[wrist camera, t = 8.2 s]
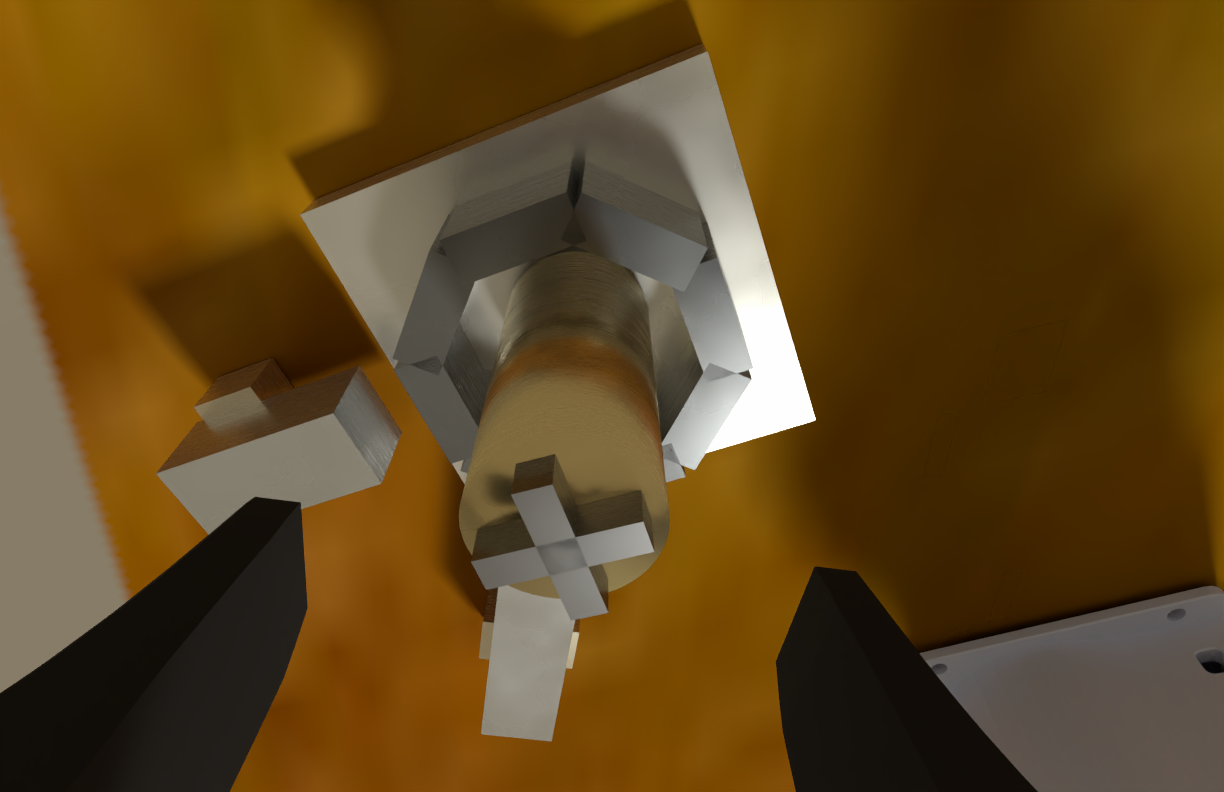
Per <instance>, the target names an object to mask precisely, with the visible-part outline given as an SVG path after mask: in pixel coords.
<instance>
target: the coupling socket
mask: <svg viewBox="0 0 1224 792" xmlns="http://www.w3.org/2000/svg"><path fill="white" fill-rule="evenodd" d="M300 215H301V217H302V219H303V220H304V222H305V223H306V225H307V227H308V228H309V230H310V232H311V233H312V235H313V237H314V238H315V240H316V242H317V243H318V245H319V246H320V248H321V250H322V251H323V253H324V255H325V256H326V258H327V260H328V261H329V263H330V264H331V266H332V268H333V269H334V271H335V273H336V274H337V276H338V278H339V279H340V281H341V283H342V284H343V286H344V287H345V289H346V291H347V292H348V294H349V296H350V297H351V299H352V301H353V302H354V304H355V305H356V307H357V309H358V310H359V312H360V314H361V315H362V317H363V319H364V320H365V322H366V323H367V325H368V327H369V328H370V330H371V332H372V333H373V335H374V337H375V338H376V340H377V342H378V343H379V345H380V346H381V348H382V350H383V351H384V353H385V355H386V356H387V358H388V360H389V361H390V363H391V364H392V366H393V368H394V371H395V373H396V374H397V376H398V378H399V379H400V381H401V383H402V384H403V386H404V388H405V389H406V391H407V392H408V394H409V396H410V397H411V399H412V401H413V402H414V404H415V406H416V407H417V409H418V410H419V412H420V414H421V415H422V417H423V419H424V420H425V422H426V424H427V425H428V427H429V428H430V430H431V432H432V433H433V435H434V437H435V438H436V440H437V442H438V443H439V445H440V447H441V448H442V450H443V451H444V453H445V455H446V456H447V458H448V460H449V461H450V463H451V464H453V466H454V468H455V469H456V471H457V473H458V474H459V476H460V478H461V479H462V481H463V483H464V484H465V482H466V477H467V473H468V469H469V465H470V461H471V457H472V453H473V448H474V444H475V440H476V436H477V432H478V428H479V424H480V419H481V415H482V411H483V407H484V403H485V399H486V395H487V390H488V386H489V382H490V378H491V374H492V370H493V366H494V361H495V357H496V353H497V349H498V345H499V341H500V337H501V332H502V328H503V324H504V320H505V316H506V312H507V308H508V303H509V300H510V296H511V293H512V291H513V288H514V287H515V285H516V283H517V282H518V280H519V279H520V278H521V276H522V275H523V274H524V273H525V272H526V271H527V270H528V269H529V268H530V267H532V266H533V265H534V264H536V263H537V262H539V261H541V260H543V259H545V258H547V257H550V256H553V255H555V254H560V253H564V252H588V253H593V254H595V255H597V256H600V257H602V258H605V259H607V260H609V261H612V262H614V263H616V264H619V265H621V266H622V267H624V268H625V269H626V270H627V271H628V272H629V273H630V274H631V275H632V276H633V277H634V278H635V279H636V281H637V282H638V283H639V285H640V287H641V289H642V291H643V293H644V295H645V298H646V302H647V306H648V314H649V324H650V333H651V343H652V353H653V362H654V372H655V382H656V392H657V401H658V411H659V421H660V431H661V440H662V450H663V460H664V469H665V479H666V482H669V481H672V480H676V479H679V478H683V477H685V469H684V466H685V467H688V468H691V469H693V470H695V469H696V467H697V466H698V464H699V463H700V461H701V459H702V458H703V456H704V455H705V453H707V452H710V451H714V450H717V449H721V448H724V447H727V446H731V445H734V444H737V443H741V442H744V441H747V440H751V439H754V438H757V437H761V436H764V435H767V434H771V433H774V432H778V431H781V430H784V429H788V428H791V427H794V426H798V425H801V424H804V423H808V422H811V421H814V420H816V419H815V416H814V413H813V409H812V406H811V402H810V399H809V396H808V392H807V389H806V385H805V382H804V378H803V375H802V372H801V368H800V365H799V361H798V358H797V355H796V351H795V348H794V344H793V341H792V338H791V334H790V331H789V327H788V324H787V320H786V317H785V314H784V310H783V307H782V303H781V300H780V297H779V293H778V290H777V286H776V283H775V280H774V276H773V273H772V269H771V266H770V263H769V259H768V256H767V252H766V249H765V245H764V242H763V239H762V235H761V232H760V228H759V225H758V222H757V218H756V215H755V211H754V208H753V205H752V201H751V198H750V194H749V191H748V187H747V184H746V181H745V177H744V174H743V170H742V167H741V164H740V160H739V157H738V153H737V150H736V147H735V143H734V140H733V136H732V133H731V130H730V126H729V123H728V119H727V116H726V112H725V109H724V106H723V102H722V99H721V95H720V92H719V89H718V85H717V82H716V78H715V75H714V72H713V68H712V65H711V61H710V58H709V54H708V51H707V50H706V48H705V46H704V45H703V43H702V44H700V45H697V46H695V47H692V48H690V49H687V50H685V51H682V52H680V53H677V54H675V55H672V56H670V57H667V58H665V59H662V60H660V61H657V62H655V63H652V64H650V65H647V66H645V67H643V68H640V69H638V70H635V71H633V72H630V73H628V74H625V75H623V76H620V77H618V78H615V79H613V80H610V81H608V82H605V83H603V84H600V85H598V86H595V87H593V88H590V89H588V90H585V91H583V92H581V93H578V94H576V95H573V96H571V97H568V98H566V99H563V100H561V101H558V102H556V103H553V104H551V105H548V106H546V107H543V108H541V109H538V110H536V111H533V112H531V113H528V114H526V115H523V116H521V117H519V118H516V119H514V120H511V121H509V122H506V123H504V124H501V125H499V126H496V127H494V128H491V129H489V130H486V131H484V132H481V133H479V134H476V135H474V136H471V137H469V138H466V139H464V140H461V141H459V142H456V143H454V144H452V145H449V146H447V147H444V148H442V149H439V150H437V151H434V152H432V153H429V154H427V155H424V156H422V157H419V158H417V159H414V160H412V161H409V162H407V163H404V164H402V165H399V166H397V167H394V168H392V169H390V170H387V171H385V172H382V173H380V174H377V175H375V176H372V177H370V178H367V179H365V180H362V181H360V182H357V183H355V184H352V185H350V186H347V187H345V188H342V189H340V190H337V191H335V192H332V193H330V194H328V195H325V196H323V197H320V198H318V199H315V200H314V201H313V202H312V203H311V204H310V205H309V206H308V207H307V208H306V209H305V210H304V211H303V212H302V213H301V214H300ZM194 408H195V410H196V411H197V412H198V413H199V415H200V416H201V417H202V418H203V421H200V422H197V423H196V424H195V426H194V427H193V428H192V429H191V431H190V432H189V433H188V434H187V436H186V437H185V438H184V439H183V441H182V442H181V443H180V444H179V446H178V447H177V448H176V449H175V451H174V452H173V453H172V454H171V456H170V457H169V458H168V459H167V461H166V462H165V463H164V464H163V466H162V467H161V468H160V469H159V471H158V472H157V473H156V474H157V475H158V476H159V478H160V479H161V480H162V481H163V482H164V483H165V485H166V486H167V487H168V488H169V489H170V490H171V491H172V493H173V494H174V495H175V496H176V497H177V498H178V500H179V501H180V502H181V503H182V504H183V505H184V506H185V508H186V509H187V510H188V511H189V512H190V513H191V515H192V516H193V517H194V518H195V519H196V520H197V521H198V523H199V524H200V525H201V526H202V527H203V528H204V530H205V531H206V532H207V533H208V534H210V533H211V532H212V531H214V530H215V529H216V528H217V527H218V526H220V525H221V524H222V523H223V522H224V521H225V520H227V519H228V518H229V517H230V516H231V515H232V514H234V513H235V512H236V511H237V510H238V509H239V508H241V507H242V506H243V505H244V504H245V503H247V502H248V501H249V500H251V499H252V498H254V497H262V498H270V499H278V500H286V501H294V502H301V509H303V508H306V507H309V506H312V505H315V504H319V503H322V502H325V501H328V500H331V499H334V498H338V497H341V496H344V495H347V494H350V493H353V492H357V491H360V490H363V489H366V488H369V487H372V486H376V485H379V484H381V483H382V480H383V478H384V475H385V473H386V470H387V468H388V465H389V463H390V460H391V458H392V455H393V453H394V450H395V448H396V445H397V443H398V441H399V438H400V436H401V433H402V432H401V430H400V428H399V427H398V425H397V424H396V422H395V421H394V419H393V417H392V416H391V414H390V413H389V411H388V410H387V408H386V406H385V405H384V403H383V402H382V400H381V399H380V397H379V395H378V394H377V392H376V391H375V389H374V388H373V386H372V384H371V383H370V381H369V380H368V378H367V377H366V375H365V373H364V372H363V370H362V369H361V367H360V365H359V366H357V367H354V368H351V369H348V370H345V371H342V372H339V373H337V374H334V375H331V376H328V377H325V378H322V379H320V380H317V381H314V382H311V383H308V384H305V385H302V386H300V387H297V388H293V386H292V385H291V384H290V382H289V381H288V379H287V378H286V376H285V375H284V374H283V372H282V371H281V369H280V368H279V366H278V365H277V364H276V362H275V361H274V359H273V358H270V359H267V360H264V361H262V362H259V363H256V364H253V365H251V366H248V367H245V368H242V369H240V370H237V371H234V372H231V373H229V374H226V375H223V376H220V377H218V378H217V380H216V381H215V382H214V383H213V384H212V386H211V387H210V388H209V389H208V390H207V392H206V393H205V394H204V395H203V396H202V398H201V399H200V400H199V401H198V402H197V404H196V405H195V406H194ZM579 627H580V619H576V620H572V621H571V620H570V618H569V615H568V613H567V611H566V609H565V607H564V605H563V603H562V601H561V599H557V598H548V597H542V596H537V595H532V594H529V593H526V592H523V591H520V590H517V589H515V588H513V587H510V586H508V585H506V586H502V587H497V588H493V589H489V591H488V597H487V602H486V608H485V613H484V618H483V625H482V635H481V644H480V654H479V658H480V659H489V660H490V662H489V671H488V679H487V688H486V696H485V705H484V713H483V722H482V730H481V734H486V735H495V736H505V737H515V738H525V739H535V740H544V741H552V736H553V731H554V726H555V721H556V716H557V710H558V705H559V700H560V695H561V690H562V685H563V680H564V675H565V670H566V668H571V669H572V666H573V661H574V656H575V651H576V646H577V641H578V636H579Z"/></svg>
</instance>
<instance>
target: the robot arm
mask: <svg viewBox="0 0 1224 792" xmlns="http://www.w3.org/2000/svg"><path fill="white" fill-rule="evenodd" d="M306 611H307V592H306V577H305V561H304V545H303V530H302V514H301V502H294V501H286V500H278V499H270V498H262V497H254V498H252V499H251V500H249V501H248V502H247V503H245V504H244V505H243V506H242V507H241V508H239V509H238V510H237V511H236V512H235V513H234V514H232V515H231V516H230V517H229V518H228V519H227V520H225V521H224V522H223V523H222V524H221V525H220V526H218V527H217V528H216V529H215V530H214V531H212V532H211V533H210V534H209V535H208V536H207V537H205V538H204V539H203V540H202V541H201V542H200V543H198V544H197V545H196V546H195V547H194V548H192V549H191V550H190V551H189V552H188V553H186V554H185V555H184V556H183V557H182V558H180V559H179V560H178V561H177V562H176V563H174V564H173V565H172V566H171V567H170V568H168V569H167V570H166V571H165V572H163V573H162V574H161V575H160V576H158V577H157V578H156V579H155V580H153V581H152V582H151V583H150V584H148V585H147V586H146V587H145V588H143V589H142V590H141V591H140V592H138V593H137V594H136V595H135V596H133V597H132V598H131V599H130V600H128V601H127V602H126V603H125V604H123V605H122V606H121V607H120V608H118V609H117V610H116V611H114V613H112V614H111V615H109V616H108V617H107V618H105V619H104V620H103V621H101V622H100V623H98V624H97V625H96V626H94V627H93V628H92V629H90V630H89V631H88V632H86V633H85V634H83V635H82V636H81V637H79V638H78V639H77V640H75V641H74V642H73V643H71V644H70V645H69V646H67V647H66V648H64V649H63V650H62V651H60V652H59V653H58V654H56V655H55V656H54V657H52V658H51V659H49V660H48V661H47V662H45V663H44V664H42V665H41V666H40V667H38V668H37V669H35V670H34V671H32V672H31V673H30V674H28V675H26V676H25V677H23V678H22V679H21V680H19V681H18V682H16V683H15V684H13V685H12V686H10V687H9V688H7V689H6V690H4V691H3V692H1V693H0V792H230V790H231V788H232V786H233V784H234V781H235V779H236V777H237V775H238V773H239V771H240V769H241V767H242V765H243V763H244V761H245V759H246V756H247V754H248V752H249V750H250V748H251V746H252V744H253V742H254V740H255V738H256V736H257V734H258V731H259V729H260V727H261V725H262V723H263V721H264V719H265V717H266V715H267V712H268V710H269V708H270V706H271V704H272V702H273V700H274V698H275V696H276V693H277V691H278V689H279V687H280V685H281V683H282V680H283V678H284V676H285V673H286V670H287V667H288V664H289V661H290V659H291V656H292V653H293V650H294V647H295V644H296V641H297V638H298V635H299V632H300V629H301V626H302V623H303V620H304V617H305V614H306ZM776 667H777V678H778V690H779V701H780V710H781V719H782V728H783V734H784V739H785V744H786V748H787V753H788V758H789V762H790V767H791V771H792V776H793V780H794V785H795V789H796V792H1224V591H1223V590H1222V589H1220V588H1219V587H1216V586H1204V587H1200V588H1196V589H1191V590H1187V591H1183V592H1179V593H1174V594H1170V595H1166V596H1161V597H1157V598H1153V599H1149V600H1144V601H1140V602H1136V603H1132V604H1127V605H1123V606H1119V607H1114V608H1110V609H1106V610H1102V611H1097V612H1093V613H1089V614H1085V615H1080V616H1076V617H1072V618H1067V619H1063V620H1059V621H1055V622H1050V623H1046V624H1042V625H1038V626H1033V627H1029V628H1025V629H1020V630H1016V631H1012V632H1008V633H1003V634H999V635H995V636H991V637H986V638H982V639H978V640H973V641H969V642H965V643H961V644H956V645H952V646H948V647H944V648H939V649H935V650H931V651H926V652H922V653H919V652H918V651H917V650H916V648H915V647H914V646H913V645H912V643H911V642H910V641H909V639H908V638H907V637H906V635H905V634H904V633H903V632H902V630H901V629H900V628H899V626H898V625H897V624H896V623H895V621H894V620H893V619H892V617H891V616H890V615H889V613H888V612H887V611H886V609H885V608H884V607H883V606H882V604H881V603H880V602H879V600H878V599H877V598H876V596H875V595H874V594H873V592H872V591H871V590H870V589H869V587H868V586H867V585H866V583H865V582H864V581H863V580H862V578H861V577H860V576H859V575H858V573H857V572H855V571H847V570H839V569H831V568H823V567H814V569H813V572H812V574H811V577H810V579H809V582H808V584H807V587H806V589H805V592H804V594H803V596H802V599H801V601H800V604H799V606H798V609H797V611H796V614H795V616H794V619H793V621H792V623H791V626H790V628H789V631H788V633H787V636H786V638H785V641H784V643H783V646H782V648H781V650H780V653H779V655H778V658H777V660H776Z"/></svg>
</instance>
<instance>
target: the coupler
mask: <svg viewBox="0 0 1224 792" xmlns="http://www.w3.org/2000/svg"><path fill="white" fill-rule="evenodd" d="M669 522H670V521H669V508H668V499H667V489H666V479H665V469H664V460H663V450H662V440H661V431H660V421H659V411H658V401H657V392H656V382H655V372H654V362H653V353H652V343H651V333H650V324H649V314H648V306H647V302H646V298H645V295H644V293H643V291H642V289H641V287H640V285H639V283H638V282H637V281H636V279H635V278H634V277H633V276H632V275H631V274H630V273H629V272H628V271H627V270H626V269H625V268H624V267H622V266H621V265H619V264H616V263H614V262H612V261H609V260H607V259H605V258H602V257H600V256H597V255H595V254H593V253H588V252H564V253H560V254H555V255H553V256H550V257H547V258H545V259H543V260H541V261H539V262H537V263H536V264H534V265H533V266H532V267H530V268H529V269H528V270H527V271H526V272H525V273H524V274H523V275H522V276H521V278H520V279H519V280H518V282H517V283H516V285H515V287H514V288H513V291H512V293H511V296H510V300H509V303H508V308H507V312H506V316H505V320H504V324H503V328H502V332H501V337H500V341H499V345H498V349H497V353H496V357H495V361H494V366H493V370H492V374H491V378H490V382H489V386H488V390H487V395H486V399H485V403H484V407H483V411H482V415H481V419H480V424H479V428H478V432H477V436H476V440H475V444H474V448H473V453H472V457H471V461H470V465H469V469H468V473H467V477H466V482H465V486H464V490H463V494H462V498H461V502H460V507H459V526H460V531H461V534H462V538H463V540H464V542H465V545H466V547H467V549H468V550H469V552H470V553H471V555H472V558H471V563H472V565H473V567H474V569H475V570H476V572H477V574H478V576H479V578H480V580H481V581H482V583H483V585H484V587H485V589H486V590H488V589H493V588H497V587H502V586H506V585H508V586H510V587H513V588H515V589H517V590H520V591H523V592H526V593H529V594H532V595H537V596H542V597H548V598H557V599H561V601H562V603H563V605H564V607H565V609H566V611H567V613H568V615H569V618H570V620H571V621H572V620H576V619H581V618H586V617H590V616H595V615H599V614H604V613H608V592H611V591H613V590H616V589H618V588H621V587H622V586H624V585H626V584H628V583H630V582H632V581H633V580H635V579H636V578H638V577H639V576H640V575H642V574H643V573H644V572H645V571H646V570H647V569H648V568H649V567H650V566H651V565H652V564H653V563H654V562H655V561H656V559H657V558H658V556H659V554H660V553H661V551H662V549H663V547H664V545H665V543H666V539H667V536H668V532H669Z"/></svg>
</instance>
